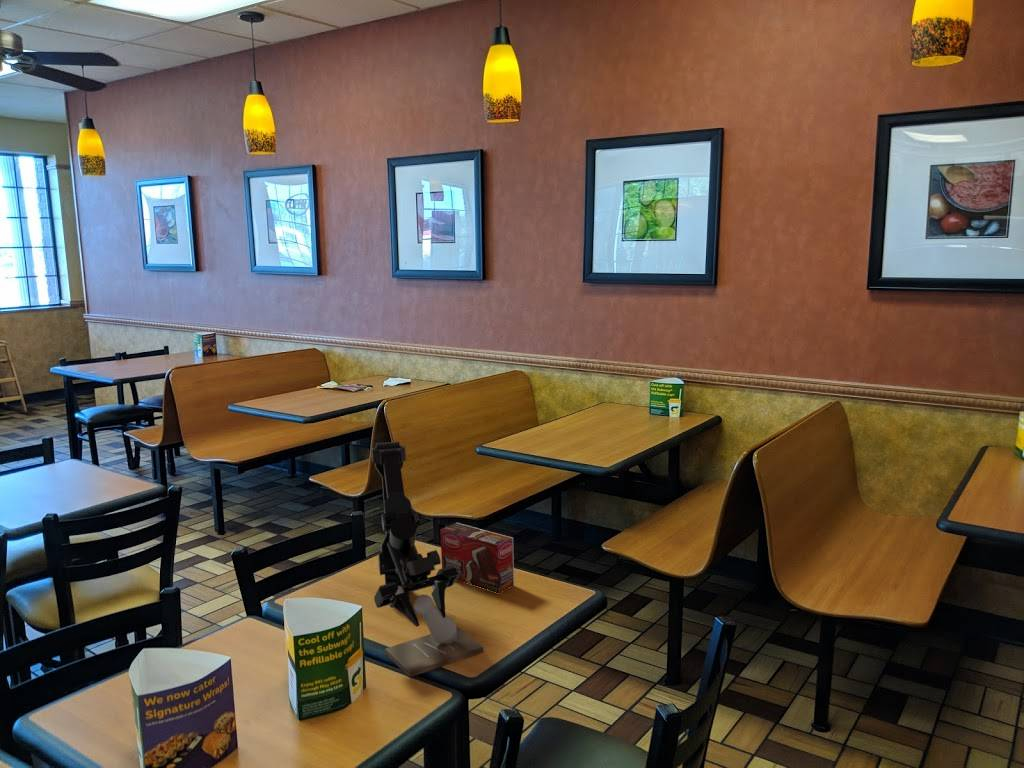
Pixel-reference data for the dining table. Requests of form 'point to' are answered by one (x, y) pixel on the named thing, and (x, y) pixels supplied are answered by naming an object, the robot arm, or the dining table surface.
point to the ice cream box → (478, 556)
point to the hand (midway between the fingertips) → (431, 621)
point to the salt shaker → (436, 620)
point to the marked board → (431, 653)
